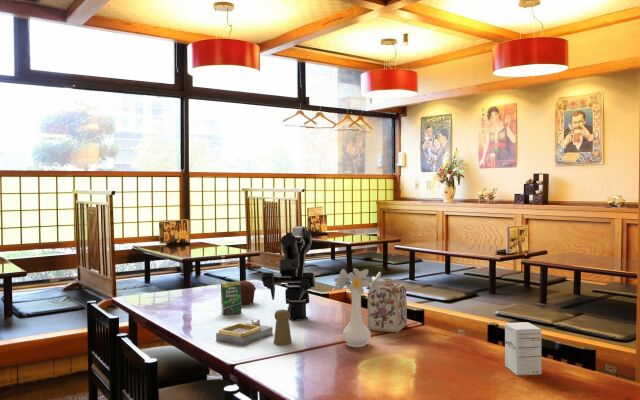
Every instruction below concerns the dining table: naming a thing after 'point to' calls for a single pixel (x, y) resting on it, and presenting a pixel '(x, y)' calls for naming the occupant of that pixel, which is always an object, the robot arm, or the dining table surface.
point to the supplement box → (523, 348)
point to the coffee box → (231, 298)
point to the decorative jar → (387, 307)
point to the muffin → (247, 292)
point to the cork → (282, 328)
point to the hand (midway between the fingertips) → (285, 299)
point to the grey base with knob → (243, 333)
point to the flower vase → (357, 304)
